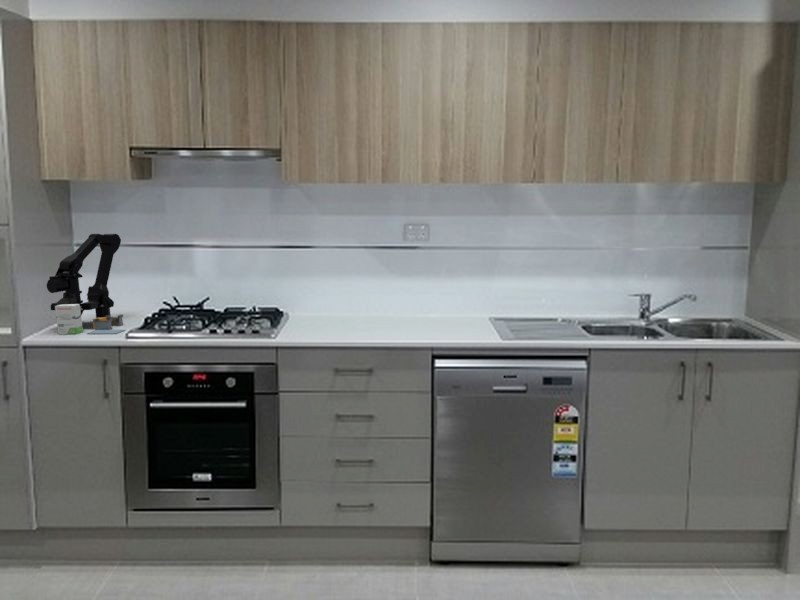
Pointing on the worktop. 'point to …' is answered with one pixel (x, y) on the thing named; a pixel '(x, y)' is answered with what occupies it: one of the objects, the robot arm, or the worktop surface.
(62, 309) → the ink box
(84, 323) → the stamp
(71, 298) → the robot arm
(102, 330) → the mat
